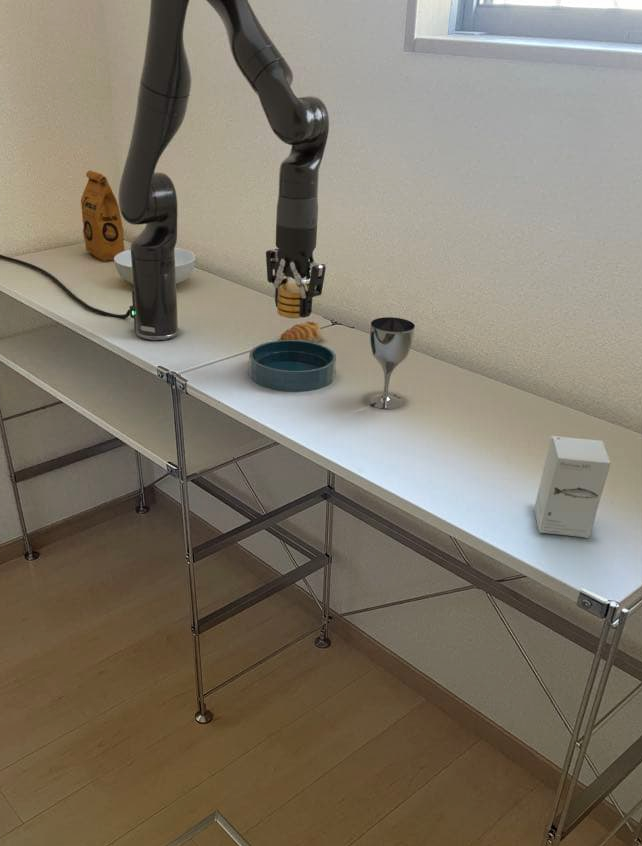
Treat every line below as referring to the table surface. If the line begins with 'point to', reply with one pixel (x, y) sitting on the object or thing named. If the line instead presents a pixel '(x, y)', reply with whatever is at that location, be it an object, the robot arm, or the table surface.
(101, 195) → the coffee package
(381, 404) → the wine glass
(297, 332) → the pastry
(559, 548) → the table surface
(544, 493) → the white packaging box
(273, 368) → the bowl
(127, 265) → the serving bowl
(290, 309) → the tan ridged cylinder
